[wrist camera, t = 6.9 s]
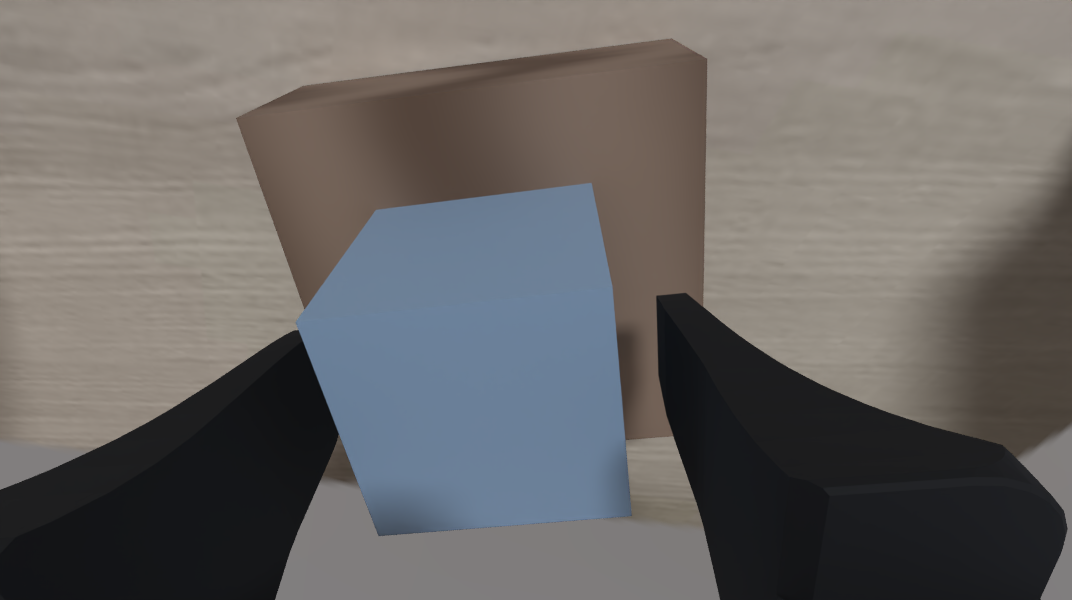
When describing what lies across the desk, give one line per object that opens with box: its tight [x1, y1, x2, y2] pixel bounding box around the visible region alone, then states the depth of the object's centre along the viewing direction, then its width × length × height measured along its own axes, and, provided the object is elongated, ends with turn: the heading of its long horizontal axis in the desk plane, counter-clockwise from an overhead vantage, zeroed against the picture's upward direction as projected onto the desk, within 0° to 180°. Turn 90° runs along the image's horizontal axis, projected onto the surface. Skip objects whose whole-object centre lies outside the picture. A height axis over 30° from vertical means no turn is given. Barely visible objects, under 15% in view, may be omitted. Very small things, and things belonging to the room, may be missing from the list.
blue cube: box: [296, 183, 632, 536], centre depth 13 cm, size 5×5×5 cm
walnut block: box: [236, 39, 707, 440], centre depth 17 cm, size 10×10×4 cm
